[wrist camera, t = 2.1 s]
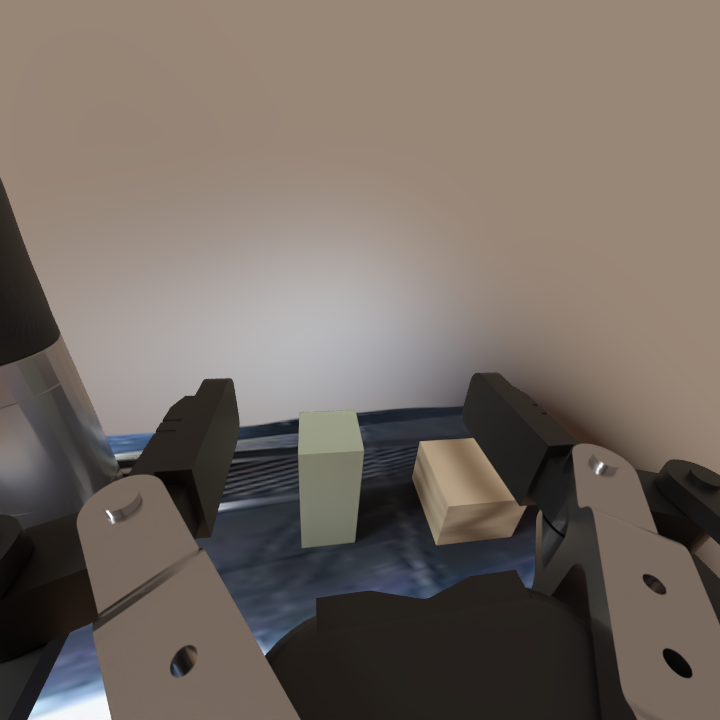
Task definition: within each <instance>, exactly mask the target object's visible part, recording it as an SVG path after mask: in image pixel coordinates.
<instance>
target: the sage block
mask: <svg viewBox="0 0 720 720" xmlns="http://www.w3.org/2000/svg"><path fill="white" fill-rule="evenodd" d="M363 457H364V448H363V443H362V439H361V434H360V429H359V425H358V420H357V416H356V411H355V410H346V411H323V412H300V414H299V442H298V465H299V490H300V514H301V538H302V548H308V547H317V546H326V545H335V544H344V543H353V542H355V536H356V526H357V516H358V506H359V496H360V487H361V477H362V467H363Z"/></svg>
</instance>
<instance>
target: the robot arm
mask: <svg viewBox="0 0 720 720" xmlns="http://www.w3.org/2000/svg"><path fill="white" fill-rule="evenodd" d="M462 414H463V421H464V424H465V426H466V428H467V429H468V431H469V432H470V434H471V435H472V436H473V438H474V439H475V441H476V442H477V444H478V445H479V447H480V448H481V450H482V451H483V453H484V454H485V456H486V457H487V459H488V460H489V462H490V463H491V465H492V466H493V468H494V469H495V471H496V472H497V474H498V475H499V477H500V478H501V480H502V481H503V482H504V484H505V485H506V487H507V488H508V490H509V491H510V493H511V494H512V496H513V497H514V499H515V500H516V502H517V503H518V505H519V506H528V505H537V506H538V507H539V508H540V511H539V513H538V515H537V519H536V552H535V577H534V582H533V586H532V589H529V588H525V586H524V585H523V583H522V581H521V579H520V577H519V575H518V574H517V572H516V570H512V571H505V572H498V573H490V574H483V575H476V576H470V577H468V578H466V579H465V580H463V581H461V582H459V583H457V584H455V585H453V586H451V587H449V588H447V589H446V590H444V591H442V592H440V593H438V594H436V595H434V596H432V597H430V598H427V599H419V598H413V597H406V596H400V595H394V594H388V593H381V592H375V591H363V592H356V593H349V594H342V595H335V596H328V597H321V598H316V614H317V615H316V616H314V617H312V618H310V619H308V620H306V621H304V622H303V623H301V624H300V625H298V626H297V627H295V628H294V629H292V630H291V631H290V632H289V633H287V634H286V635H285V636H284V637H283V638H282V639H280V640H279V641H278V642H277V643H276V644H275V645H274V646H273V647H272V649H271V650H270V651H269V652H268V653H267V654H266V655H265V656H264V654H263V652H262V650H261V649H260V647H259V645H258V643H257V642H256V640H255V638H254V636H253V635H252V633H251V631H250V629H249V627H248V626H247V624H246V622H245V620H244V619H243V617H242V615H241V613H240V611H239V610H238V608H237V606H236V604H235V603H234V601H233V599H232V597H231V595H230V594H229V592H228V590H227V588H226V587H225V585H224V583H223V581H222V580H221V578H220V576H219V574H218V572H217V571H216V569H215V567H214V565H213V564H212V562H211V560H210V558H209V557H208V555H207V553H206V552H205V551H204V549H203V548H200V549H199V547H198V546H197V544H196V542H195V539H197V538H206V537H211V534H212V530H213V526H214V523H215V519H216V516H217V512H218V508H219V505H220V501H221V498H222V494H223V491H224V487H225V483H226V480H227V476H228V473H229V469H230V465H231V462H232V458H233V455H234V451H235V447H236V444H237V440H238V436H239V415H238V408H237V401H236V396H235V389H234V383H233V381H232V379H230V378H225V379H205V380H203V382H202V384H201V386H200V388H199V390H198V391H197V393H196V395H195V396H185V397H184V398H182V399H181V400H179V401H178V402H177V403H176V404H174V405H173V406H172V407H171V408H170V409H169V411H168V413H167V414H166V416H165V417H164V419H163V423H160V425H159V427H158V428H157V430H156V434H154V435H153V436H152V438H151V439H150V441H149V443H148V444H147V446H146V447H145V449H144V450H143V452H142V454H141V455H140V457H139V458H138V460H137V462H136V463H135V465H134V466H133V468H132V470H131V471H130V473H129V474H128V476H127V477H126V478H123V475H122V472H121V470H120V467H119V465H118V463H117V460H116V458H115V456H114V454H113V451H112V449H111V446H110V444H109V442H108V439H107V437H106V435H105V433H104V431H103V428H102V426H101V424H100V421H99V419H98V417H97V415H96V412H95V410H94V408H93V405H92V403H91V401H90V399H89V396H88V394H87V392H86V390H85V387H84V385H83V383H82V380H81V378H80V376H79V374H78V372H77V369H76V367H75V365H74V362H73V360H72V358H71V356H70V354H69V351H68V349H67V347H66V344H65V342H64V340H63V338H62V335H61V333H60V331H59V329H58V326H57V324H56V322H55V319H54V317H53V315H52V312H51V310H50V307H49V304H48V302H47V299H46V297H45V294H44V292H43V290H42V287H41V284H40V282H39V280H38V277H37V275H36V273H35V270H34V268H33V265H32V263H31V260H30V258H29V255H28V252H27V250H26V247H25V245H24V242H23V239H22V236H21V234H20V231H19V228H18V225H17V222H16V219H15V217H14V214H13V211H12V208H11V205H10V202H9V199H8V197H7V194H6V191H5V188H4V186H3V183H2V181H1V178H0V720H27V719H28V717H29V715H30V713H31V711H32V709H33V707H34V705H35V703H36V701H37V699H38V696H39V694H40V692H41V690H42V688H43V686H44V684H45V682H46V680H47V678H48V676H49V674H50V672H51V670H52V668H53V666H54V663H55V661H56V659H57V657H58V655H59V653H60V651H61V649H62V647H63V645H64V643H65V641H66V639H67V637H68V635H69V633H70V632H72V631H74V630H77V629H79V628H81V627H83V626H86V625H88V624H90V623H92V622H93V636H94V642H95V647H96V651H97V656H98V660H99V665H100V669H101V674H102V678H103V683H104V687H105V692H106V696H107V701H108V705H109V710H110V714H111V719H112V720H720V579H719V578H718V577H717V576H716V575H715V574H714V573H713V572H712V571H711V570H710V569H709V568H708V567H707V566H706V565H705V564H704V563H703V562H702V561H701V560H700V559H699V558H698V557H697V556H696V555H695V554H694V553H695V552H696V551H697V550H698V549H699V548H700V547H701V546H702V545H703V544H704V543H705V542H706V541H707V540H708V539H709V538H710V537H712V538H713V539H714V540H715V541H716V542H717V543H718V544H719V545H720V475H718V474H717V473H715V472H713V471H711V470H709V469H707V468H705V467H703V466H700V465H697V464H695V463H692V462H688V461H684V460H675V459H674V460H669V461H668V462H667V463H666V464H665V465H664V466H663V468H662V469H661V470H660V472H659V473H654V472H648V471H642V470H637V469H634V468H633V467H632V466H631V465H630V464H629V463H628V462H627V461H626V460H624V459H623V458H622V457H620V456H619V455H617V454H615V453H613V452H612V451H610V450H607V449H605V448H602V447H600V446H596V445H592V444H580V443H579V442H578V441H577V440H576V439H575V438H574V437H573V436H572V435H570V434H569V433H568V432H567V431H566V430H565V429H564V428H563V427H562V426H561V425H560V424H558V423H557V422H556V421H555V420H554V419H553V418H552V417H551V416H550V415H547V413H546V411H544V410H543V409H542V408H541V407H540V406H538V404H537V403H536V402H535V401H534V400H533V399H531V398H530V397H529V396H528V395H527V394H525V393H524V392H522V391H520V390H519V389H517V388H515V387H513V386H512V385H511V384H510V383H509V382H508V381H506V379H505V378H504V377H503V376H502V375H500V374H499V373H475V374H474V375H473V376H472V378H471V381H470V385H469V389H468V392H467V396H466V399H465V403H464V406H463V413H462Z"/></svg>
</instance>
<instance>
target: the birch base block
mask: <svg viewBox="0 0 720 720" xmlns="http://www.w3.org/2000/svg"><path fill="white" fill-rule="evenodd" d="M412 479H413V482H414V485H415V487H416V490H417V493H418V496H419V499H420V501H421V504H422V507H423V510H424V512H425V515H426V518H427V521H428V524H429V526H430V529H431V532H432V535H433V538H434V540H435V543H436V545H444V544H452V543H461V542H470V541H479V540H487V539H496V538H505V537H511V536H512V534H513V532H514V530H515V528H516V526H517V524H518V522H519V520H520V518H521V516H522V514H523V512H524V510H525V509H526V507H527V506H519V505H518V503H517V502H516V500H515V499H514V497H513V496H512V494H511V493H510V491H509V490H508V488H507V487H506V485H505V484H504V482H503V481H502V480H501V478H500V477H499V475H498V474H497V472H496V471H495V469H494V468H493V466H492V465H491V463H490V462H489V460H488V459H487V457H486V456H485V454H484V453H483V451H482V450H481V448H480V447H479V445H478V444H477V442H476V441H475V439H474V438H470V439H453V440H435V441H420V443H419V448H418V453H417V457H416V462H415V467H414V471H413V476H412Z"/></svg>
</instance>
